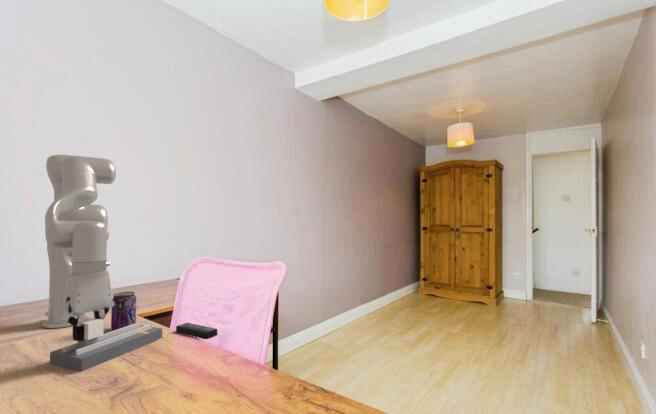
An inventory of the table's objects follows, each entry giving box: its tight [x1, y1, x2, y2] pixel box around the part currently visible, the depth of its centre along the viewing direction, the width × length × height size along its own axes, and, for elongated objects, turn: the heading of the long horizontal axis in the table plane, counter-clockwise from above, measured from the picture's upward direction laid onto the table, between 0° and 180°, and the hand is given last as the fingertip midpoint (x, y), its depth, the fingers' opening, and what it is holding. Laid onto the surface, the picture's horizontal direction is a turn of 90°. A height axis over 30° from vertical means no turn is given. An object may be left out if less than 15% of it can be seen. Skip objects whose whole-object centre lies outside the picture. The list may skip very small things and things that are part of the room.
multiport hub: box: [175, 322, 218, 340], centre depth 108 cm, size 4×14×2 cm, turn 62°
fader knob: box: [71, 317, 105, 349], centre depth 89 cm, size 6×4×7 cm, turn 70°
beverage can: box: [110, 291, 137, 331], centre depth 112 cm, size 7×7×12 cm
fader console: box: [49, 322, 163, 372], centre depth 95 cm, size 12×24×4 cm, turn 160°
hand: (87, 336), depth 88 cm, fingers closed on fader knob, 4 cm apart
